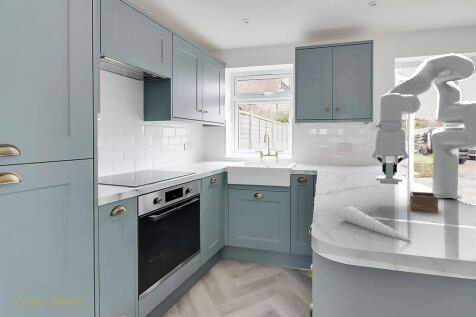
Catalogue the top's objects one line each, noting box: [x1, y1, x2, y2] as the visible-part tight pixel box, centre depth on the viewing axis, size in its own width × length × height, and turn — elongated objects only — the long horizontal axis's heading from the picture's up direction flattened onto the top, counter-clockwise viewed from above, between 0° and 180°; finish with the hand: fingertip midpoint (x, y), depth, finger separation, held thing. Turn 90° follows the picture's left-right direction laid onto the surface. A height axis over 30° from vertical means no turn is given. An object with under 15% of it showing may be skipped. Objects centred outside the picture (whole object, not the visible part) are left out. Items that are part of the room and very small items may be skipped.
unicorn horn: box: [341, 206, 412, 242], centre depth 86 cm, size 5×24×5 cm, turn 16°
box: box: [409, 191, 439, 214], centre depth 111 cm, size 11×8×6 cm
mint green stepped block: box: [375, 161, 403, 185], centre depth 118 cm, size 12×9×8 cm
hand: (389, 174), depth 119 cm, fingers closed on mint green stepped block
